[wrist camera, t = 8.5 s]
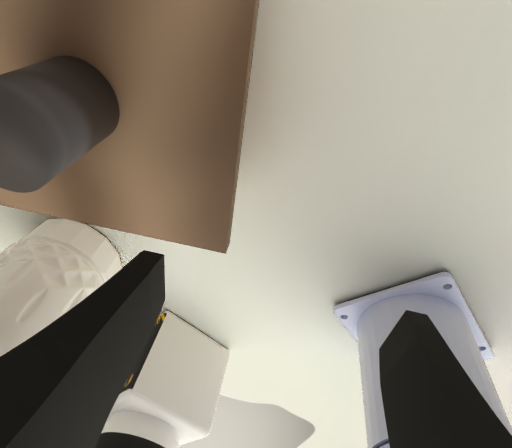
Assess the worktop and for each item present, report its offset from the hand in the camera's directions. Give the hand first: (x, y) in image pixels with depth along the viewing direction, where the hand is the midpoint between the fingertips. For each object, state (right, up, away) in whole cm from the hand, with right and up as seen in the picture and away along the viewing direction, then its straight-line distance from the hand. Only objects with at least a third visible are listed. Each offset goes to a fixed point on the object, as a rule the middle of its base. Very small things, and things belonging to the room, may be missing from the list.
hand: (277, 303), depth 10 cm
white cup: (-14, 0, +15) cm, 21 cm away
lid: (-7, +7, +3) cm, 11 cm away
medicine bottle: (-8, -8, +21) cm, 24 cm away
